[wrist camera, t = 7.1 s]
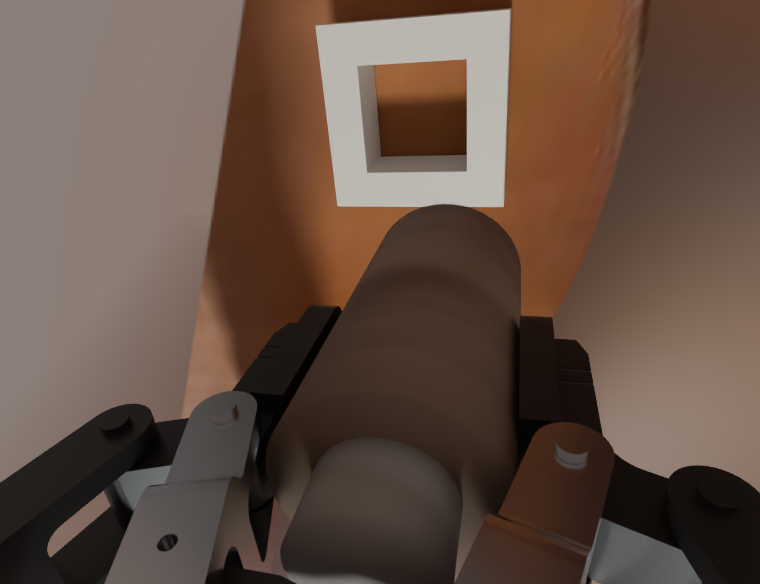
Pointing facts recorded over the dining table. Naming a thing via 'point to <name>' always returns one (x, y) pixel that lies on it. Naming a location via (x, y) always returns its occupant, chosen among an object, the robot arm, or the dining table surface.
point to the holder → (360, 114)
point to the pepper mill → (406, 410)
